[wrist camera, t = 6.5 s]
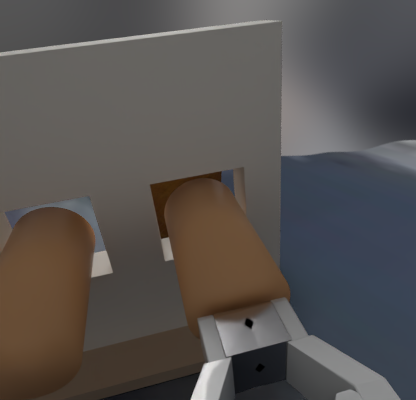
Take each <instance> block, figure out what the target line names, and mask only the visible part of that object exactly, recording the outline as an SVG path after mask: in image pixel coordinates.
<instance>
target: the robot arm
mask: <svg viewBox="0 0 416 400" xmlns="http://www.w3.org/2000/svg"><path fill="white" fill-rule="evenodd" d="M197 322H198V328H199V334H200V341H201V346H202V351H203V357H204V361H205V364H203V367H202V370H201V373H200V375H199V378H198V381H197V383H196V386H195V389H194V392H193V394H192V397H191V400H234V399H235V394H236V393H240V392H243V391H246V390H249V389H252V388H256V387H259V386H262V385H266V384H270V383H274V382H278V381H282V380H286V381H287V382H288V383H289V384H290V385H292V386H293V387H294V388H295V389H296V390H297V391H299V392H300V393H301V394H302V395H303V396H304V397H305V398H307V399H308V400H400V398H399V397H398V396H397V394H396V393H395V391H394V390H393V389H392V387H391V386H390V384H389V383H388V382H387V380H386V379H385V378H384V377H382V376H381V375H379V374H377V373H376V372H374V371H372V370H371V369H369V368H367V367H366V366H364V365H362V364H361V363H359V362H357V361H356V360H354V359H352V358H351V357H349V356H347V355H346V354H344V353H342V352H341V351H339V350H337V349H336V348H334V347H332V346H331V345H329V344H327V343H326V342H324V341H322V340H320V339H319V338H317V337H315V336H314V335H311V336H308V334H307V332H306V331H305V329H304V327H303V326H302V324H301V322H300V320H299V319H298V317H297V315H296V314H295V312H294V310H293V308H292V307H291V305H290V303H289V302H288V300H287V299H286V298H285V297H282V298H278V299H274V300H270V301H265V302H261V303H258V304H254V305H250V306H246V307H242V308H240V309H235V310H231V311H226V312H222V313H217V314H213V315H209V316H204V317H200V318H197Z"/></svg>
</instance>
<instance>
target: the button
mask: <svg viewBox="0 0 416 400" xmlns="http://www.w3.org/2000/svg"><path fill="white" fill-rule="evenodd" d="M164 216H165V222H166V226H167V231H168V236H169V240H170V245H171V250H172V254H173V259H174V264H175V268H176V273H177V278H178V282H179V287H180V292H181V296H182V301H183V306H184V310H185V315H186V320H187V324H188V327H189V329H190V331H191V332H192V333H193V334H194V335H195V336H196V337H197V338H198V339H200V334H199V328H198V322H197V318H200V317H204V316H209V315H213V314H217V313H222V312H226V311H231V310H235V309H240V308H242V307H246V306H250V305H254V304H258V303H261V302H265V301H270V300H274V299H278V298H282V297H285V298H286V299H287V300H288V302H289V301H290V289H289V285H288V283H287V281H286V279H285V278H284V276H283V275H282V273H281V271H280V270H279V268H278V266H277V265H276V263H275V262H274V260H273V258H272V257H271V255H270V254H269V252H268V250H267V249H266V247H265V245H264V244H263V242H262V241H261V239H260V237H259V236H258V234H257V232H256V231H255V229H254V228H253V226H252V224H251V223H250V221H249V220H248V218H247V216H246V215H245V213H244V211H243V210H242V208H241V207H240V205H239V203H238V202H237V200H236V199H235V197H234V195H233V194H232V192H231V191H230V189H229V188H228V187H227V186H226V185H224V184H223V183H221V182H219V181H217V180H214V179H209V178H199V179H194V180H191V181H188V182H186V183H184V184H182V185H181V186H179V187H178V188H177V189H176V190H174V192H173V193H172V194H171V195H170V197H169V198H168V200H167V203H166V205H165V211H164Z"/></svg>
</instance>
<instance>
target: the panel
mask: <svg viewBox="0 0 416 400" xmlns="http://www.w3.org/2000/svg"><path fill="white" fill-rule="evenodd" d="M281 86H282V21H271V20H261V21H252V22H244V23H237V24H228V25H220V26H212V27H205V28H196V29H188V30H179V31H171V32H164V33H155V34H147V35H139V36H131V37H124V38H115V39H107V40H98V41H90V42H83V43H75V44H66V45H58V46H50V47H42V48H34V49H26V50H18V51H9V52H1V53H0V254H1V252H2V250H3V248H4V246H5V244H6V242H7V240H8V238H9V236H10V234H11V232H12V228H11V226H10V223H9V221H8V219H7V217H6V215H5V213H4V212H5V211H11V210H16V209H21V208H27V207H32V206H37V205H43V204H48V203H54V202H59V201H64V200H70V199H75V198H80V197H86V196H89V197H90V200H91V203H92V206H93V210H94V213H95V216H96V219H97V222H98V226H99V229H100V232H101V235H102V238H103V241H104V245H105V248H106V251H101V252H97V253H94V257H93V266H92V275H91V284H90V293H89V302H88V311H87V320H86V329H85V338H84V347H83V356H82V364H81V367H80V369H79V371H78V373H77V374H76V376H75V377H74V378H73V379H72V380H71V381H70V382H69V383H68V384H67V385H65V386H64V387H62V388H60V389H59V390H57V391H55V392H53V393H50V394H48V395H44V396H41V397H37V398H33V399H26V400H99V399H103V398H106V397H110V396H114V395H117V394H121V393H125V392H128V391H132V390H136V389H139V388H143V387H147V386H150V385H154V384H158V383H162V382H165V381H169V380H173V379H176V378H180V377H184V376H187V375H191V374H195V373H198V372H201V370H202V367H203V364H205V361H204V357H203V351H202V346H201V341H200V339H198V338H197V337H196V336H195V335H194V334H193V333H192V332H191V331H190V329H189V327H188V324H187V320H186V315H185V310H184V306H183V301H182V296H181V292H180V287H179V282H178V278H177V273H176V268H175V264H174V259H173V254H172V250H171V245H170V240H169V237H168V238H163V239H161V236H160V231H159V226H158V222H157V217H156V212H155V207H154V202H153V197H152V193H151V188H150V184H155V183H161V182H166V181H171V180H177V179H182V178H187V177H193V176H198V175H203V174H209V173H214V172H219V171H225V170H230V169H233V174H234V189H235V199H236V200H237V202H238V203H239V205H240V207H241V208H242V210H243V211H244V213H245V215H246V216H247V218H248V220H249V221H250V223H251V224H252V226H253V228H254V229H255V231H256V232H257V234H258V236H259V237H260V239H261V241H262V242H263V244H264V245H265V247H266V249H267V250H268V252H269V254H270V255H271V257H272V258H273V260H274V262H275V263H276V265H277V266H278V268H279V270H280V189H281Z"/></svg>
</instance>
